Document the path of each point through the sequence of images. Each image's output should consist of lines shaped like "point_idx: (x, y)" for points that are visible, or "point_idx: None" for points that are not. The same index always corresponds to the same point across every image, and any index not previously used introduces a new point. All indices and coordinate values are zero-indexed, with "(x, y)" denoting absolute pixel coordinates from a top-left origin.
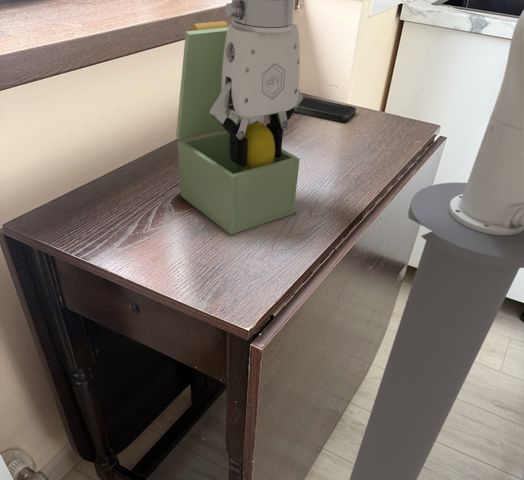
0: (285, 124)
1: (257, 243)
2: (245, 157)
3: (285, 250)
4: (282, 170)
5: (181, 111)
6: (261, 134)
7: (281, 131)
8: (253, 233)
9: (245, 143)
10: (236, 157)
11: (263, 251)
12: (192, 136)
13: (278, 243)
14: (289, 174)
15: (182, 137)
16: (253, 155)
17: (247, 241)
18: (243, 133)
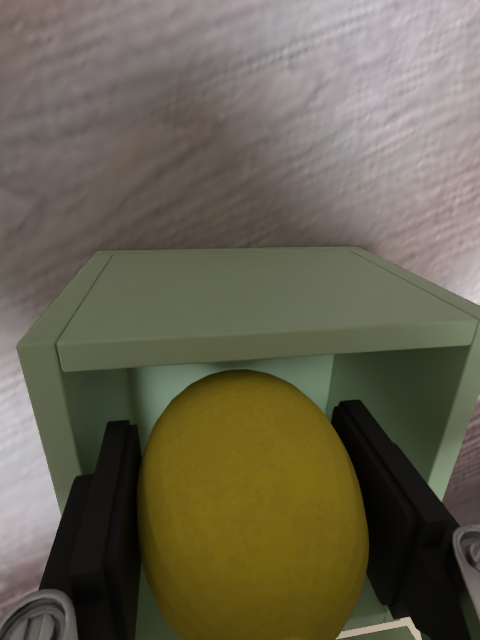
0: (14, 638)
1: (328, 156)
2: (368, 429)
3: (284, 52)
4: (166, 317)
5: None
6: (307, 546)
7: (87, 565)
8: (297, 216)
9: (419, 493)
10: (397, 446)
11: (347, 100)
12: (353, 637)
13: (273, 111)
14: (113, 306)
15: (396, 634)
16: (328, 428)
17: (344, 186)
18: (469, 565)
